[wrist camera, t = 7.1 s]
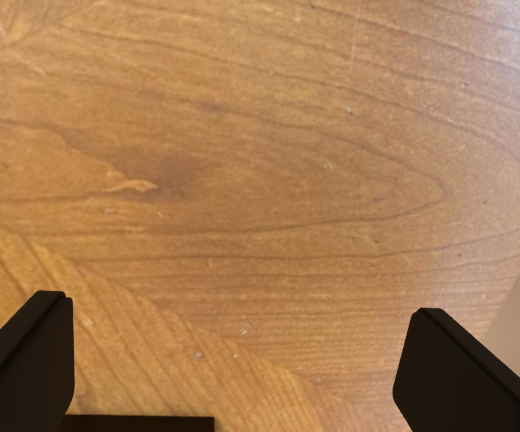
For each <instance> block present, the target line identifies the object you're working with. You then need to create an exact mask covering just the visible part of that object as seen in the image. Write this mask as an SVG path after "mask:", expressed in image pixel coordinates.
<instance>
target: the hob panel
mask: <svg viewBox="0 0 520 432" xmlns="http://www.w3.org/2000/svg"><path fill="white" fill-rule="evenodd" d="M57 432H215V425H214V418H213V417H155V416H92V415H65V416H64V418H63V420H62V422H61V424H60V426H59V428H58V430H57Z"/></svg>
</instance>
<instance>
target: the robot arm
mask: <svg viewBox="0 0 520 432" xmlns="http://www.w3.org/2000/svg"><path fill="white" fill-rule="evenodd" d="M74 388H75V377H74V333H73V301H72V298H70V297H66V296H65V293H64V292H63V291H42V290H39V291H37V292H36V293H35V294H34V295H33V296H32V297H31V298H30V299H29V300H28V301H27V302H26V303H25V304H24V305H23V306H22V307H21V308H20V309H19V310H18V311H17V312H16V314H15V315H14V316H13V317H12V318H11V319H10V320H9V321H8V322H7V323H6V324H5V325H4V326H3V327H2V328H1V329H0V432H57V430H58V428H59V426H60V424H61V422H62V420H63V418H64V416H65V413H66V411H67V409H68V407H69V405H70V403H71V401H72V398H73V394H74ZM393 399H394V401H395V403H396V405H397V407H398V408H399V410H400V412H401V413H402V415H403V416H404V418H405V420H406V421H407V423H408V425H409V426H410V428H411V430H412V431H413V432H520V377H519V376H517V375H516V374H515V373H514V372H513V371H512V370H511V369H509V368H508V367H507V366H506V365H505V364H504V363H503V362H501V361H500V360H499V359H498V358H497V357H496V356H495V355H494V354H492V353H491V352H490V351H489V350H488V349H487V348H486V347H484V346H483V345H482V344H481V343H480V342H479V341H478V340H477V339H475V338H474V337H473V336H472V335H471V334H470V333H469V332H468V331H466V330H465V329H464V328H463V327H462V326H461V325H460V324H458V323H457V322H456V321H455V320H454V319H453V318H452V317H451V316H449V315H448V314H447V313H446V312H445V311H444V310H442V309H440V308H419V309H418V310H417V312H415V313H413V314H412V316H411V320H410V323H409V327H408V331H407V335H406V339H405V343H404V347H403V351H402V354H401V358H400V362H399V366H398V370H397V374H396V378H395V382H394V385H393Z"/></svg>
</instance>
